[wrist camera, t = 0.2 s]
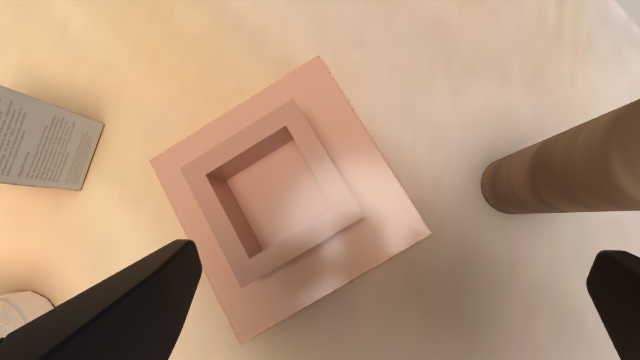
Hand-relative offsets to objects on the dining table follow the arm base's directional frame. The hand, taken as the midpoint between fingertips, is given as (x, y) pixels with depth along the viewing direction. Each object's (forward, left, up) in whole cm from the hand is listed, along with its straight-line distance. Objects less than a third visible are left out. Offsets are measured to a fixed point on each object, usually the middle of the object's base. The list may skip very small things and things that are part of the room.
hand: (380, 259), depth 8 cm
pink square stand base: (+5, +4, -14) cm, 16 cm away
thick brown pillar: (-2, -9, -14) cm, 17 cm away
